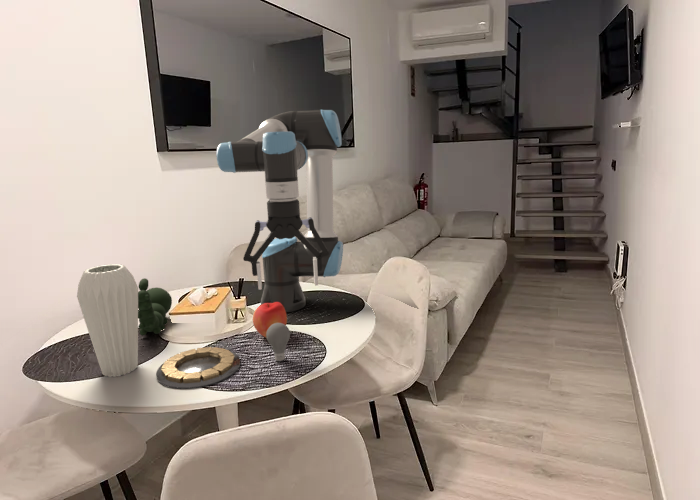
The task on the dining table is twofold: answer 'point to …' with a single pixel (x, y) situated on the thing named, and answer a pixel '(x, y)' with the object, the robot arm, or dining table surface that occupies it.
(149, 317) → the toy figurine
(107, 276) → the vase
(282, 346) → the light bulb
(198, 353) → the socket
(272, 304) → the apple
